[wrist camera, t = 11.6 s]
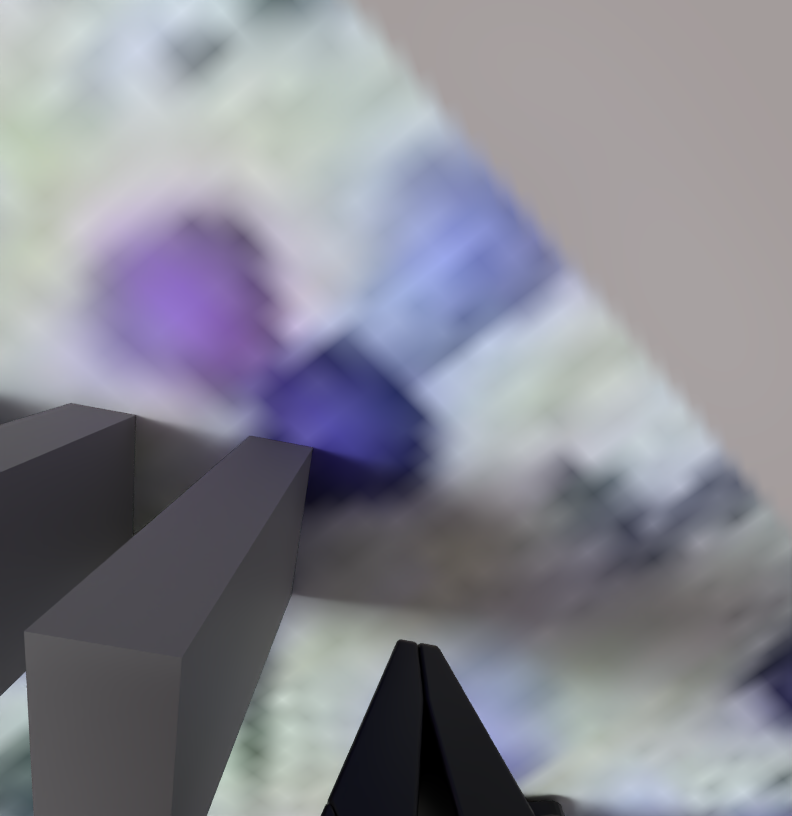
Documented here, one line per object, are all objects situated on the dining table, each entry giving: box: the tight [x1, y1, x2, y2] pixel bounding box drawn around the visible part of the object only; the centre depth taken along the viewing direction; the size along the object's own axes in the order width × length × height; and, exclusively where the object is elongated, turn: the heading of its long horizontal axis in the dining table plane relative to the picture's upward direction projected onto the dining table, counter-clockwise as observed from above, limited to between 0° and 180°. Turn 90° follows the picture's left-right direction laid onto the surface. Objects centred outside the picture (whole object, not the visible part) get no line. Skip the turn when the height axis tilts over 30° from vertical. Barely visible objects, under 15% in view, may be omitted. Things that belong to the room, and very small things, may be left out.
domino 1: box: [24, 436, 313, 816], centre depth 9 cm, size 2×5×7 cm, turn 169°
